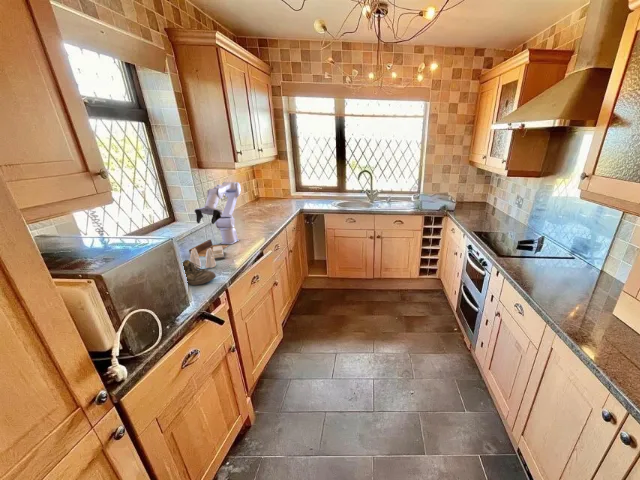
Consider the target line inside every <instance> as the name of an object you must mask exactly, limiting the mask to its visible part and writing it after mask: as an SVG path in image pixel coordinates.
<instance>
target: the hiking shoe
mask: <svg viewBox="0 0 640 480" xmlns="http://www.w3.org/2000/svg"><path fill="white" fill-rule="evenodd" d="M182 263H183V266H184V270H185V274H186V277H187V281H188V283H187V284H189V285H191V286H196V285H197V286H199V285H203V284H206V283H209V282H210V281H213V280H214V279H216V278H217V275H216V272H214V271H213V270H209V269H206V268H202V266H199V265H197V264H195V265H197V266H199V267H200V268H198V267H196V266H195V265H194V263H192V262H190V259H185V260H184V261H182V262H181V264H182ZM194 266H195V267H196V268H195V267H194Z"/></svg>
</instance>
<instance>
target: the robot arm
mask: <svg viewBox="0 0 640 480" xmlns="http://www.w3.org/2000/svg"><path fill="white" fill-rule="evenodd" d="M241 188H242V187H241V184H240V182H239V181H223V182H222V183H221V184H216V186H214V187H213V188H209V189H207V190H206V201H205V203H204V206H202V207H198V208H194V210H193V211H194V214H195V216H196V217H195V218H196V223H197V224H200V223H201V220H202V219H203V218H204V215H208V216H211V221H210V222H211V224H212V225H215V227H216V228H217V229H218V230H219V231H220V236H221V239H222V241H221V242H220V243H219V245H233V244H235V243H237V242H238V241H240V239H239V238H238V234H237V230H236V228H235V225H236V224H235V223H236V219H235V218H234V216H233V214H234V210H235V207H236V205H237V201H238V198H239V196H240V195H241V192H242V189H241ZM223 196H224V197H226V198H227V200H226V203H225V206H224V208H223V209H219V208H217V207H218V204H219V201H220V200H221V199H223ZM203 214H204V215H203Z"/></svg>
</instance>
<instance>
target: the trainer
mask: <svg viewBox="0 0 640 480" xmlns="http://www.w3.org/2000/svg"><path fill="white" fill-rule="evenodd" d="M213 254H214V259H215V261H219V260H224V259H225V251H224V249H223V248H222V246H216V247H213Z"/></svg>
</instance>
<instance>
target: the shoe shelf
mask: <svg viewBox="0 0 640 480" xmlns="http://www.w3.org/2000/svg"><path fill="white" fill-rule="evenodd" d="M216 246H222V248H223V250H225V249H226V248H227V247H229V246H230V244H213V242H212V239H208V240H206V241H204V242H202V243H199V244H198V245H196V246H194V247H192V248H190V249H188V252H189V255H190V254H191V250H192V249H193V250H194V248H195V249H196V250H197V253H198V256H199V257H206V252H207V249H209V248H211V250H212V252H213V247H216ZM213 255H214V254H213Z"/></svg>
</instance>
